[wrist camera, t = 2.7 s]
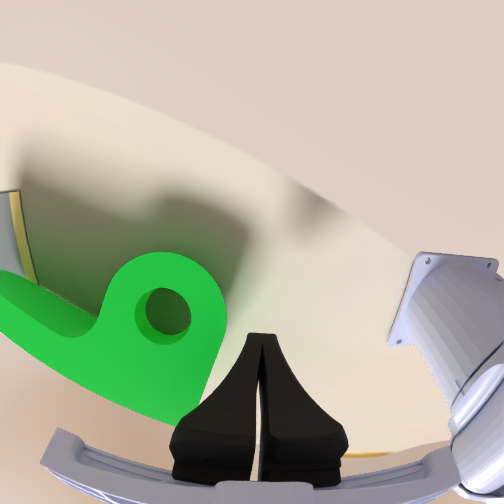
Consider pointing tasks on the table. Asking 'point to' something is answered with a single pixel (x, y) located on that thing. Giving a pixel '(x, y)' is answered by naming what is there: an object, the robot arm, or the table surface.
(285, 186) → the table surface
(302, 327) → the table surface
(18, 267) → the mat
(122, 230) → the table surface
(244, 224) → the table surface
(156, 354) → the bracket
